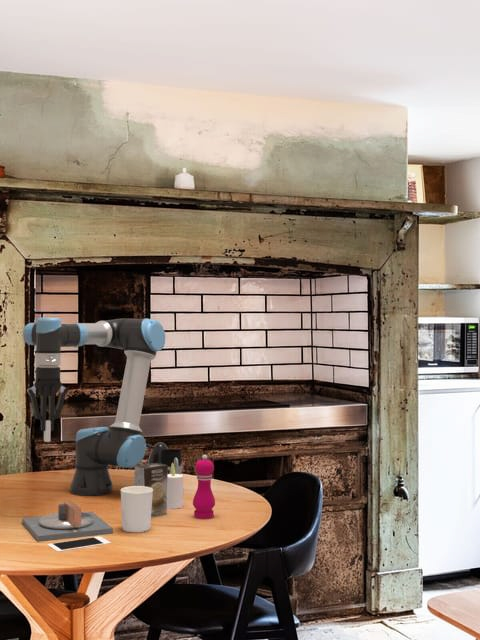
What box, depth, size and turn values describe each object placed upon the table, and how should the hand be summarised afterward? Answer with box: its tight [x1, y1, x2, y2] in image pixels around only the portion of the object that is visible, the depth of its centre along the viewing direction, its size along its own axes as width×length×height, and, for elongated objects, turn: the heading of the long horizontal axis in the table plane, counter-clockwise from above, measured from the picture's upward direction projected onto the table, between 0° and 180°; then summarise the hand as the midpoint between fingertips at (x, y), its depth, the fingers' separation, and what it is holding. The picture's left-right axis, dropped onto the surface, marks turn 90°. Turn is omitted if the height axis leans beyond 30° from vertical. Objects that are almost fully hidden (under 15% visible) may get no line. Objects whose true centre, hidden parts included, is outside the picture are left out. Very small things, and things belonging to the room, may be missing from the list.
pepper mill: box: [192, 454, 216, 520], centre depth 263 cm, size 7×7×20 cm
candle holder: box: [120, 485, 153, 533], centre depth 247 cm, size 10×10×12 cm
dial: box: [39, 501, 94, 529], centre depth 245 cm, size 18×16×6 cm
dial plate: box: [21, 511, 114, 542], centre depth 246 cm, size 22×22×2 cm
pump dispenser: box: [146, 441, 169, 464], centre depth 316 cm, size 10×10×15 cm
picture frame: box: [160, 448, 183, 475], centre depth 296 cm, size 9×14×15 cm, turn 18°
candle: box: [167, 463, 184, 510], centre depth 276 cm, size 6×6×15 cm
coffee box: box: [133, 463, 168, 518], centre depth 265 cm, size 9×6×16 cm
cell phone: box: [47, 535, 112, 553], centre depth 230 cm, size 8×16×1 cm, turn 124°
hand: (47, 441), depth 257 cm, fingers closed
